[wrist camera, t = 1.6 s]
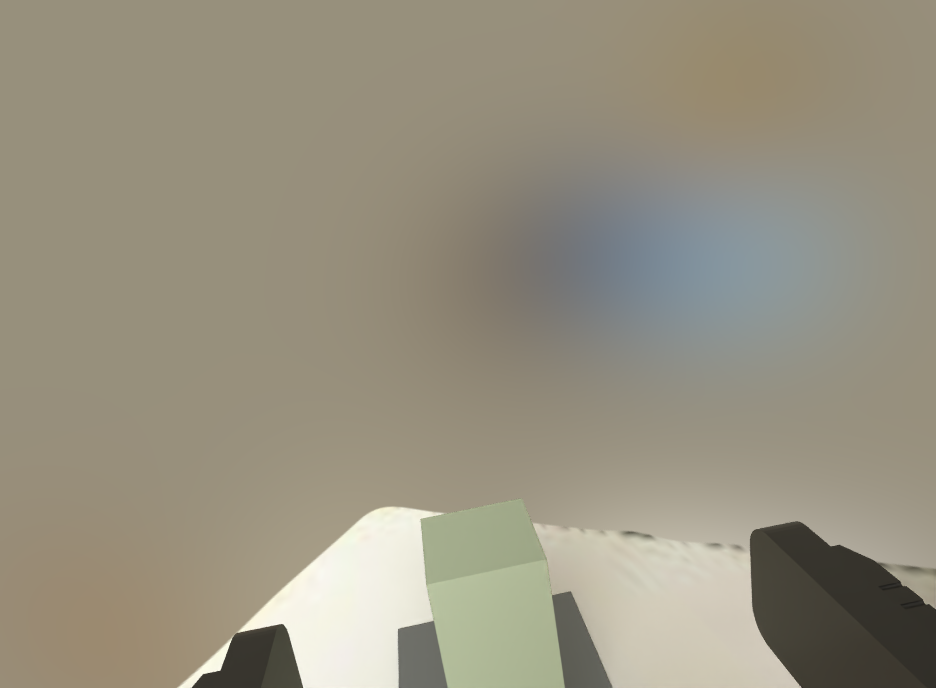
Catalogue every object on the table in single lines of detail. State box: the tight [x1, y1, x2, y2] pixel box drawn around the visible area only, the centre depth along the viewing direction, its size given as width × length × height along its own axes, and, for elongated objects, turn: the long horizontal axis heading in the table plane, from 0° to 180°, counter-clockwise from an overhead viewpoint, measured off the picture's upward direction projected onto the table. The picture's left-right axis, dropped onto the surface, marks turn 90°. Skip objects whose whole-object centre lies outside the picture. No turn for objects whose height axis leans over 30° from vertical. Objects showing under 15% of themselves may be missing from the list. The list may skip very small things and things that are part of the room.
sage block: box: [421, 498, 565, 688], centre depth 32 cm, size 6×6×14 cm
